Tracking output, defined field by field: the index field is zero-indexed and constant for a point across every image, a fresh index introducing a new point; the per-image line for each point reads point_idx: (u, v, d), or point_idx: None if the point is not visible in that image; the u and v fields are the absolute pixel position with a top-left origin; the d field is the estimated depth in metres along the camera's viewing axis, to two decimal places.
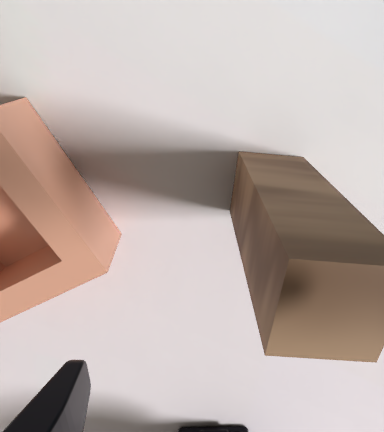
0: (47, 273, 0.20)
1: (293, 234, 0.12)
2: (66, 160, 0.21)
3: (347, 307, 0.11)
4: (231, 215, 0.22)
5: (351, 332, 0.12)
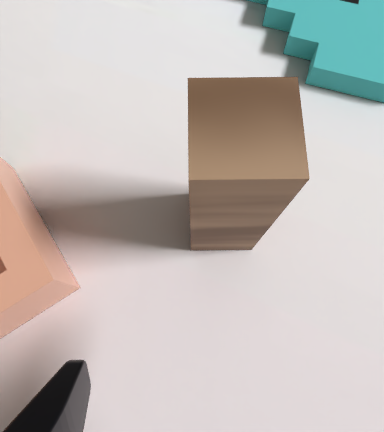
0: None
1: None
2: (36, 212, 0.23)
3: (253, 117, 0.12)
4: None
5: (268, 144, 0.12)
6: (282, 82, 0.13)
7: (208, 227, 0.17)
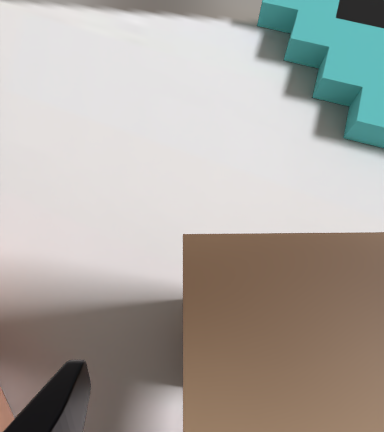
0: None
1: None
2: None
3: (331, 338, 0.05)
4: None
5: (372, 415, 0.05)
6: None
7: None
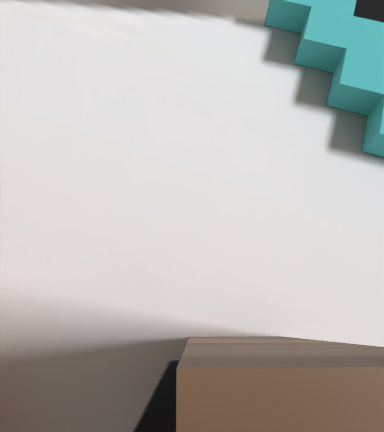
0: None
1: (218, 356, 0.05)
2: None
3: None
4: None
5: None
6: None
7: None
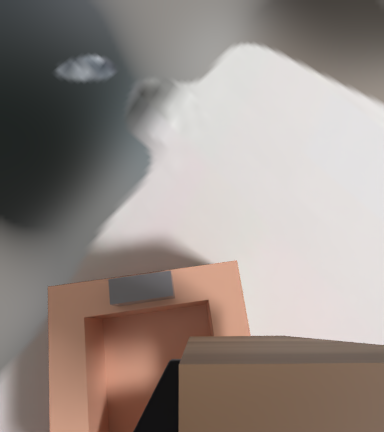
0: None
1: (219, 353, 0.05)
2: None
3: None
4: None
5: None
6: None
7: None
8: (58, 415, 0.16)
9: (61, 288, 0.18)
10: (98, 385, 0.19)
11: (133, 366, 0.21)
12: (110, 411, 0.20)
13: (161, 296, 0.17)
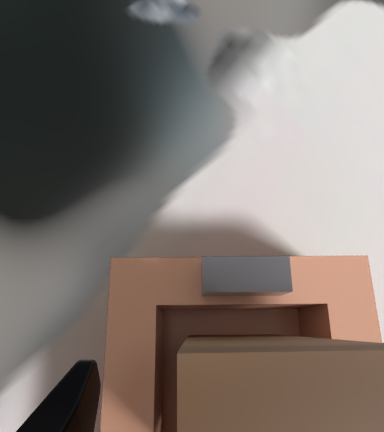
0: None
1: (210, 347, 0.07)
2: None
3: None
4: None
5: None
6: None
7: None
8: None
9: (128, 262, 0.14)
10: (159, 397, 0.14)
11: None
12: (165, 431, 0.15)
13: (275, 290, 0.12)
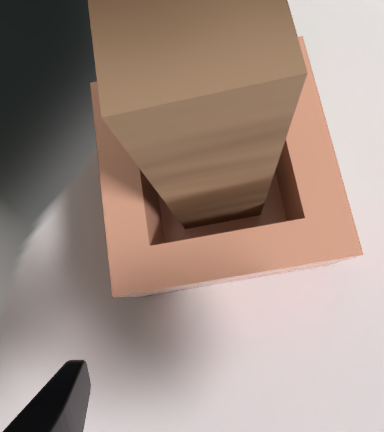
0: (275, 230, 0.14)
1: None
2: None
3: None
4: (182, 223, 0.18)
5: (227, 31, 0.07)
6: None
7: (188, 195, 0.13)
8: (112, 203, 0.15)
9: None
10: (151, 193, 0.17)
11: None
12: (166, 231, 0.18)
13: None
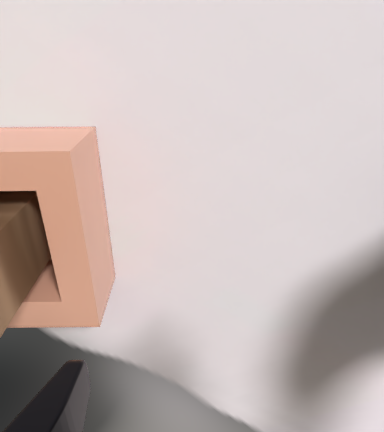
0: (48, 215, 0.16)
1: None
2: None
3: None
4: None
5: None
6: None
7: (12, 295, 0.16)
8: (27, 321, 0.19)
9: None
10: None
11: None
12: None
13: None
